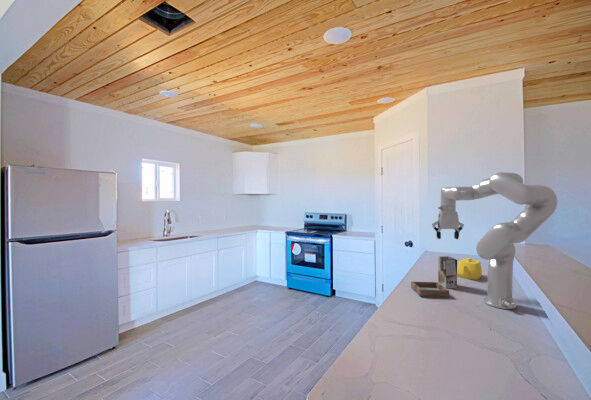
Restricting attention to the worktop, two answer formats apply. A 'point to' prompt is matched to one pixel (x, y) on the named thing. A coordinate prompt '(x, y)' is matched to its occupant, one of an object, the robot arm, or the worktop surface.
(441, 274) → the coffee box
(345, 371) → the worktop surface
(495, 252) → the robot arm
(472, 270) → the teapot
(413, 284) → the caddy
